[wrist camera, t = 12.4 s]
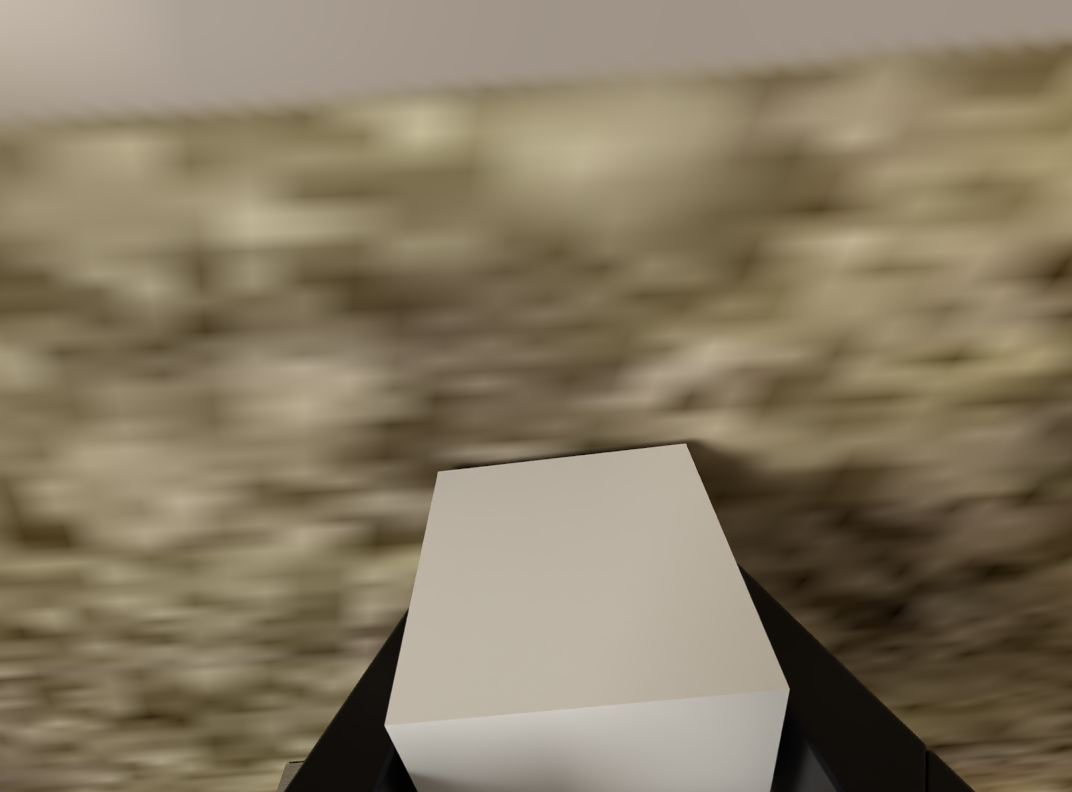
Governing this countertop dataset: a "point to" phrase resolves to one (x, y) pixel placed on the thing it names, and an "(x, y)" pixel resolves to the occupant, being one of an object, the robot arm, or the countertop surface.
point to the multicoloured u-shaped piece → (583, 636)
